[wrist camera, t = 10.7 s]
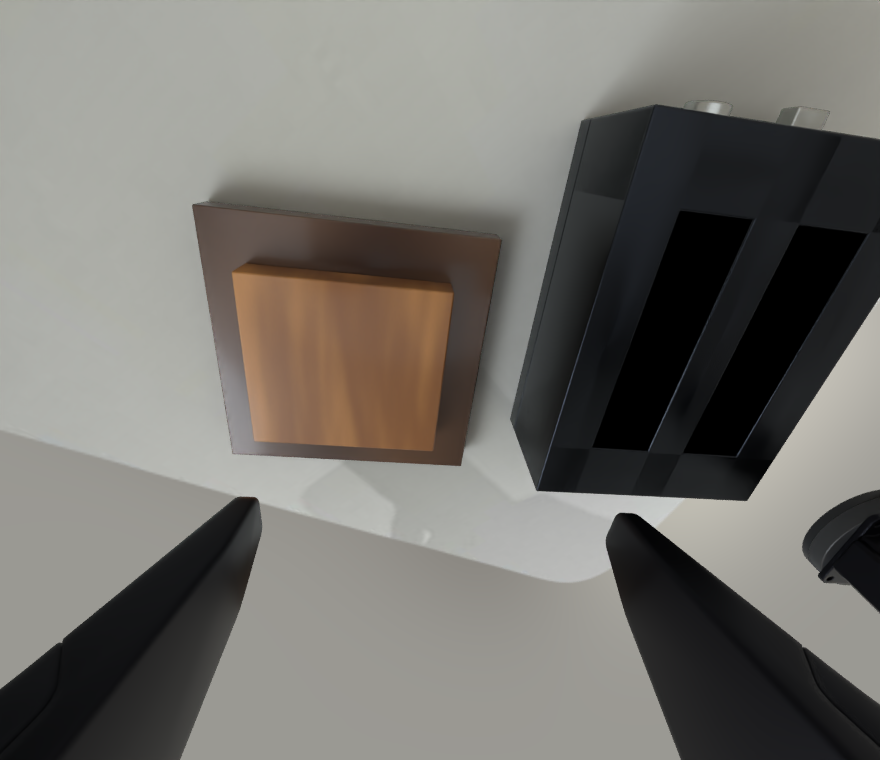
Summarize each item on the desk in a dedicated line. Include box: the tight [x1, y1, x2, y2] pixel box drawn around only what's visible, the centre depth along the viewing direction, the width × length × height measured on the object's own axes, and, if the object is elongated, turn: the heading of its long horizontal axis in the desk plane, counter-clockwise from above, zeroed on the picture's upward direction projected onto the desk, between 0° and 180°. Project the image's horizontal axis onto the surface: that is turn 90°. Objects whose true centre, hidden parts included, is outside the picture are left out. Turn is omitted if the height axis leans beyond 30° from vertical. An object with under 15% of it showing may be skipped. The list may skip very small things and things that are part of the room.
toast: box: [232, 263, 454, 451], centre depth 18 cm, size 1×8×8 cm
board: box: [192, 201, 502, 466], centre depth 19 cm, size 12×12×1 cm
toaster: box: [510, 100, 880, 501], centre depth 17 cm, size 10×15×6 cm, turn 173°
